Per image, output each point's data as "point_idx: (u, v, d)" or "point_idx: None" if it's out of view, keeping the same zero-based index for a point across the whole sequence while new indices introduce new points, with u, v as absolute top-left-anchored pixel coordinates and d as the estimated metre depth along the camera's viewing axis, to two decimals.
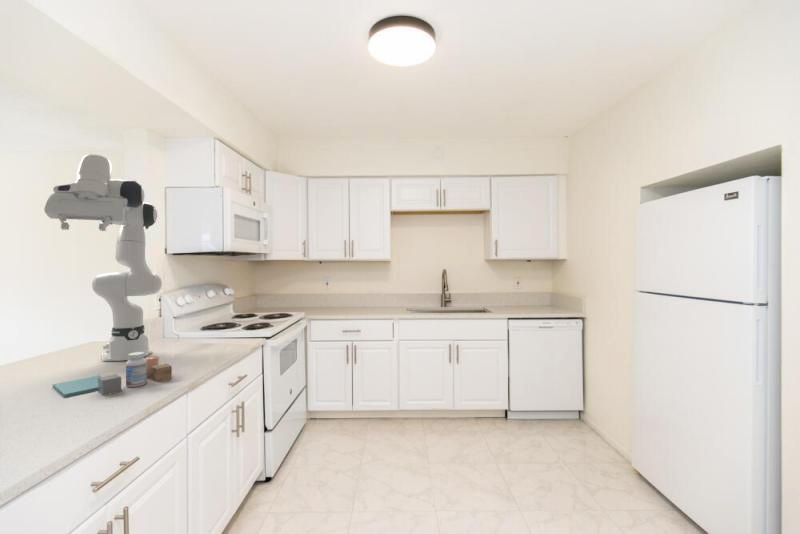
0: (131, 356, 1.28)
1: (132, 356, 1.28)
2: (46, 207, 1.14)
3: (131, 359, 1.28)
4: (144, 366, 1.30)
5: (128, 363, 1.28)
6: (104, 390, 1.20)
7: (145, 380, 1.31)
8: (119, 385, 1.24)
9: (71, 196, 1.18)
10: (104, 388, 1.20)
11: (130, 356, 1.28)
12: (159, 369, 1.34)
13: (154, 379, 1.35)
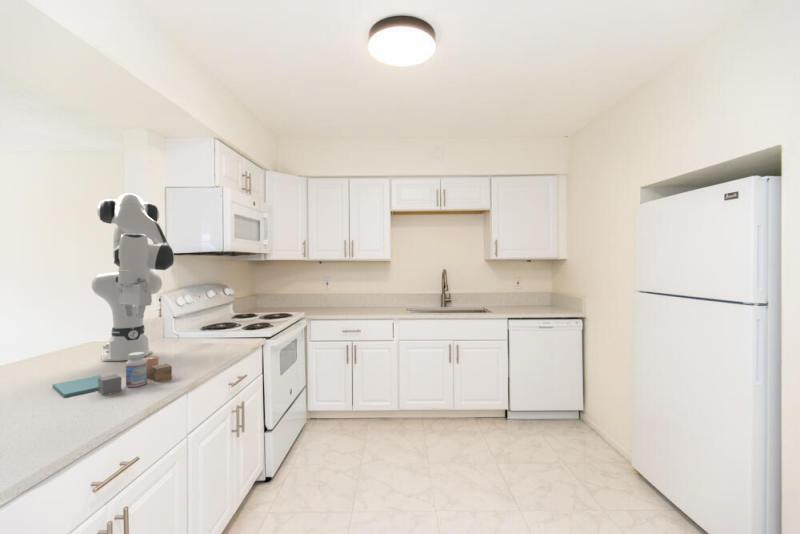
0: (131, 356, 1.28)
1: (132, 356, 1.28)
2: (117, 298, 1.33)
3: (131, 359, 1.28)
4: (144, 366, 1.30)
5: (128, 363, 1.28)
6: (104, 390, 1.20)
7: (145, 380, 1.31)
8: (119, 385, 1.24)
9: (121, 287, 1.30)
10: (104, 388, 1.20)
11: (130, 356, 1.28)
12: (159, 369, 1.34)
13: (154, 379, 1.35)
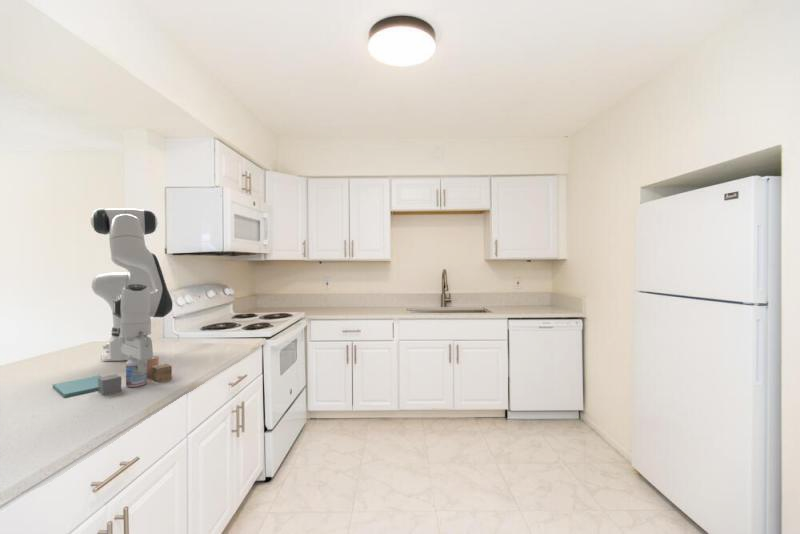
0: (131, 356, 1.28)
1: None
2: (120, 348, 1.34)
3: (131, 359, 1.28)
4: (144, 366, 1.30)
5: (128, 363, 1.28)
6: (104, 390, 1.20)
7: (145, 380, 1.31)
8: (119, 385, 1.24)
9: (124, 338, 1.31)
10: (104, 388, 1.20)
11: (130, 356, 1.28)
12: (159, 369, 1.34)
13: (154, 379, 1.35)
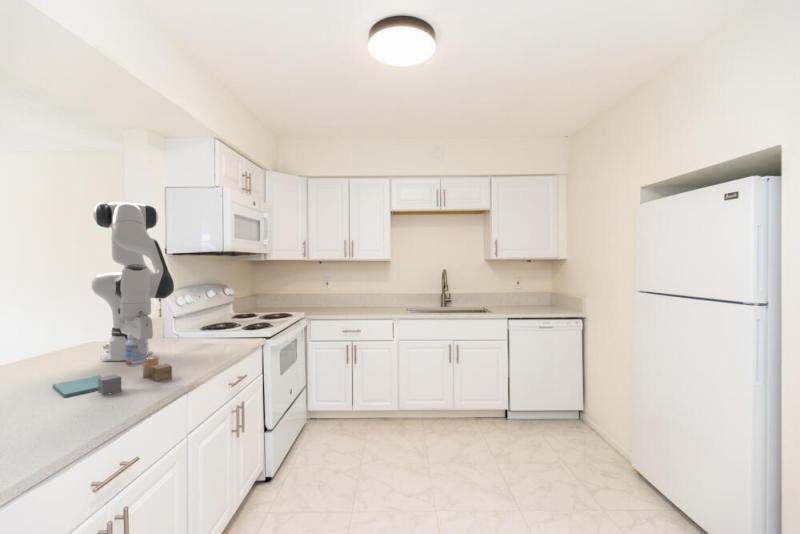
0: (131, 336, 1.28)
1: None
2: (120, 328, 1.34)
3: (131, 339, 1.29)
4: (144, 346, 1.30)
5: (128, 343, 1.28)
6: (104, 390, 1.20)
7: (145, 360, 1.31)
8: (119, 385, 1.24)
9: (124, 318, 1.31)
10: (104, 388, 1.20)
11: (130, 336, 1.28)
12: (159, 369, 1.34)
13: (154, 379, 1.35)
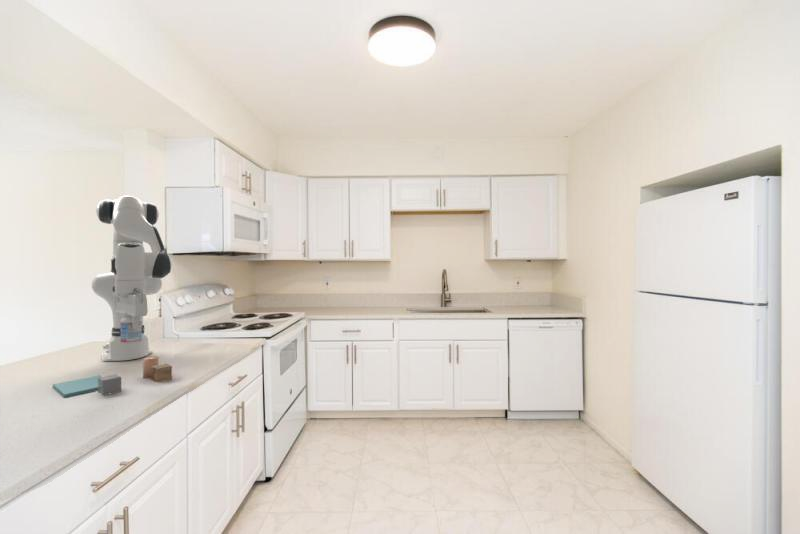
0: (126, 313, 1.28)
1: None
2: (114, 307, 1.34)
3: (126, 316, 1.28)
4: (139, 324, 1.30)
5: (123, 320, 1.28)
6: (104, 390, 1.20)
7: (140, 338, 1.31)
8: (119, 385, 1.24)
9: (118, 296, 1.30)
10: (104, 388, 1.20)
11: (125, 313, 1.28)
12: (159, 369, 1.34)
13: (154, 379, 1.35)
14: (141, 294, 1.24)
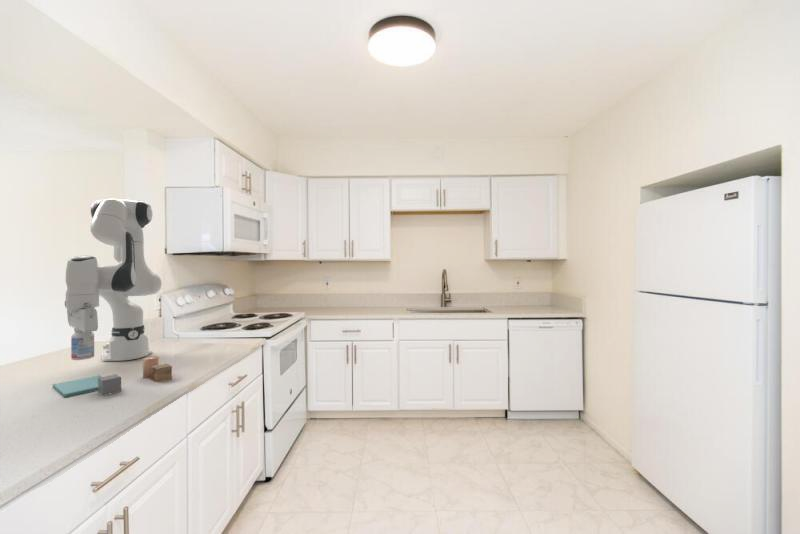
0: (76, 328, 1.25)
1: (77, 328, 1.26)
2: (68, 321, 1.32)
3: (77, 332, 1.26)
4: (91, 339, 1.28)
5: (73, 335, 1.25)
6: (104, 390, 1.20)
7: (92, 354, 1.28)
8: (119, 385, 1.24)
9: (70, 310, 1.28)
10: (104, 388, 1.20)
11: (75, 328, 1.26)
12: (159, 369, 1.34)
13: (154, 379, 1.35)
14: (90, 309, 1.22)
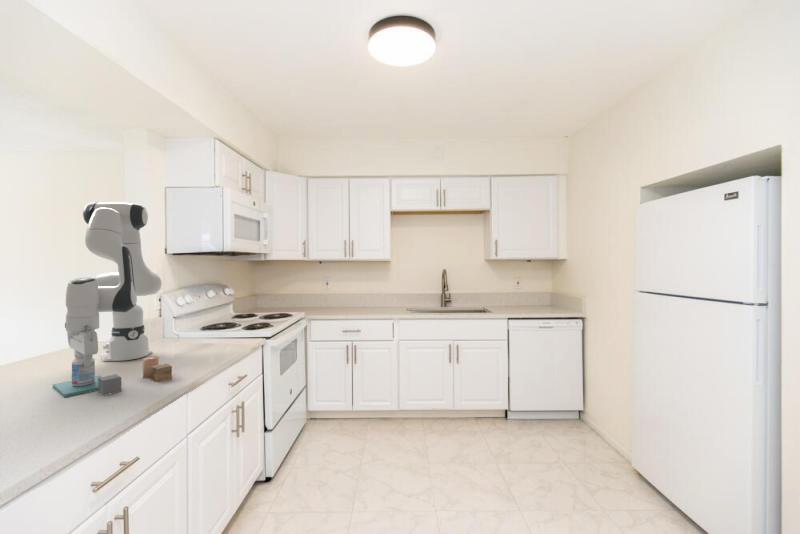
0: (77, 355, 1.25)
1: (78, 355, 1.25)
2: None
3: (77, 358, 1.26)
4: (91, 365, 1.28)
5: (74, 362, 1.25)
6: (104, 390, 1.20)
7: (92, 379, 1.28)
8: (119, 385, 1.24)
9: (70, 332, 1.28)
10: (104, 388, 1.20)
11: (76, 355, 1.25)
12: (159, 369, 1.34)
13: (154, 379, 1.35)
14: (91, 332, 1.22)
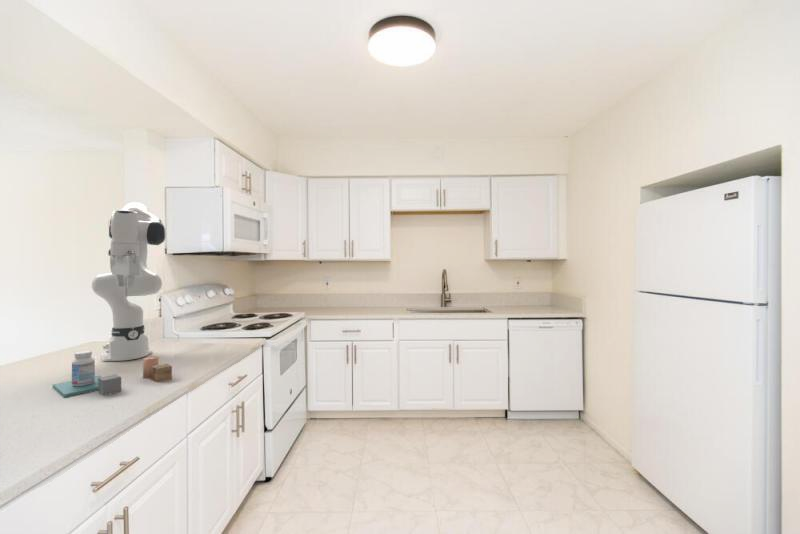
0: (77, 355, 1.26)
1: (78, 355, 1.26)
2: None
3: (77, 358, 1.26)
4: (91, 365, 1.28)
5: (74, 362, 1.25)
6: (104, 390, 1.20)
7: (92, 379, 1.29)
8: (119, 385, 1.24)
9: (114, 259, 1.42)
10: (104, 388, 1.20)
11: (76, 355, 1.26)
12: (159, 369, 1.34)
13: (154, 379, 1.35)
14: (134, 255, 1.35)
